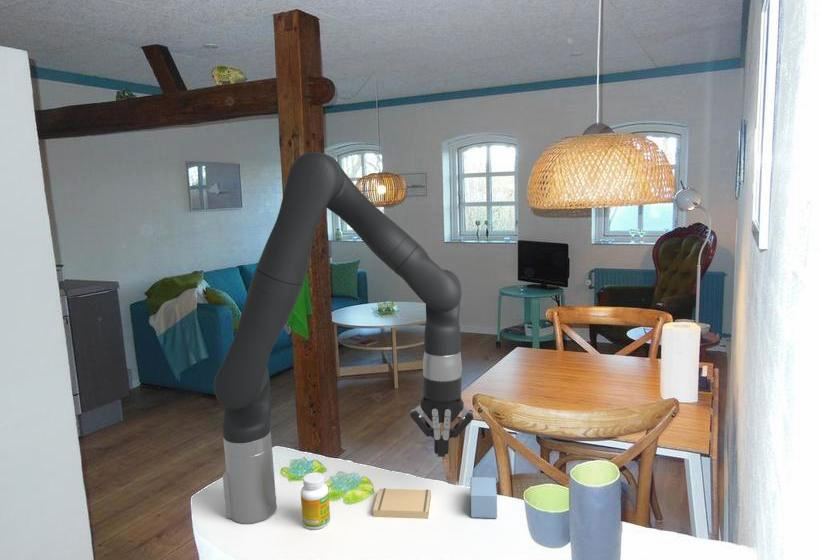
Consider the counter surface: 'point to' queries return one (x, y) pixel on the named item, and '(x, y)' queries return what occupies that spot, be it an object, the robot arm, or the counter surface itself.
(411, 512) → the board
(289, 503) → the counter surface
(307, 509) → the supplement bottle
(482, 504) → the stub
